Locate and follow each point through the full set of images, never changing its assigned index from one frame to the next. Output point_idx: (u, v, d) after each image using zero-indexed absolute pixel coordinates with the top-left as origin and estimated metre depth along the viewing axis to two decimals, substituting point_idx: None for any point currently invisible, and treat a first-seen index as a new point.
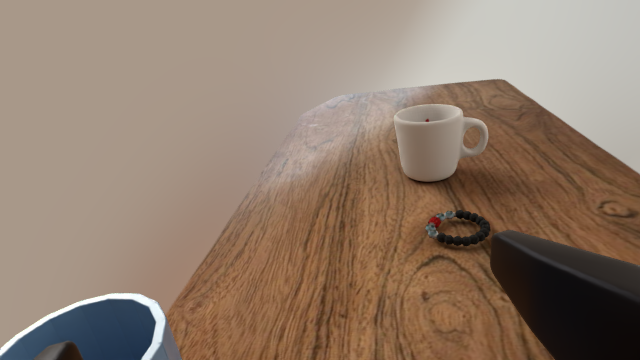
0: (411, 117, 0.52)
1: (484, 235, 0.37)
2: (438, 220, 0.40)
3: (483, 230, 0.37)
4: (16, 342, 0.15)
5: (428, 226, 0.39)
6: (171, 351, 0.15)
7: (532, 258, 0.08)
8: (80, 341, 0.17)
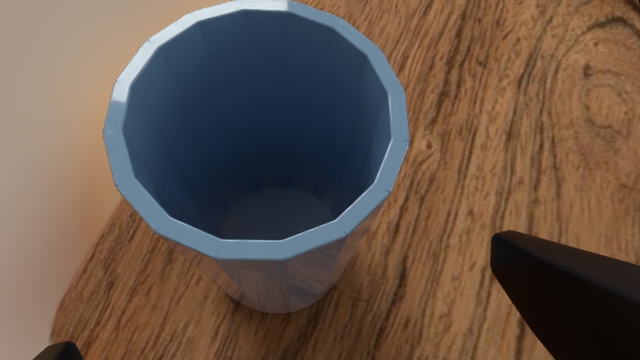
0: None
1: None
2: None
3: None
4: (155, 53, 0.09)
5: None
6: None
7: (532, 258, 0.08)
8: (232, 59, 0.11)
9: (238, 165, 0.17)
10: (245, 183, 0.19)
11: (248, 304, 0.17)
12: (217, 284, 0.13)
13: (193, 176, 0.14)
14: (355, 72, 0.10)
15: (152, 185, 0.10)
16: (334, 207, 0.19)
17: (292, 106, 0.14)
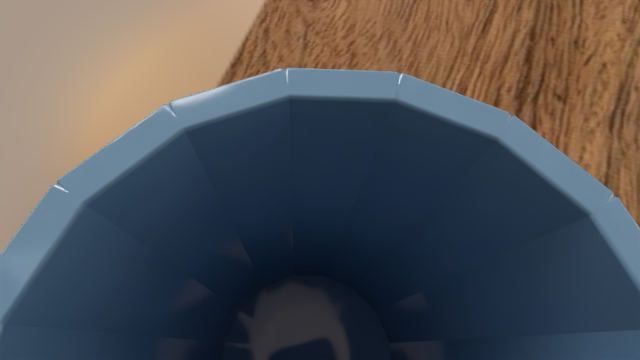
0: None
1: None
2: None
3: None
4: (76, 218, 0.04)
5: None
6: None
7: None
8: (255, 173, 0.06)
9: (253, 273, 0.11)
10: (260, 282, 0.13)
11: None
12: None
13: (183, 330, 0.08)
14: (527, 223, 0.05)
15: None
16: (387, 317, 0.13)
17: (350, 217, 0.08)
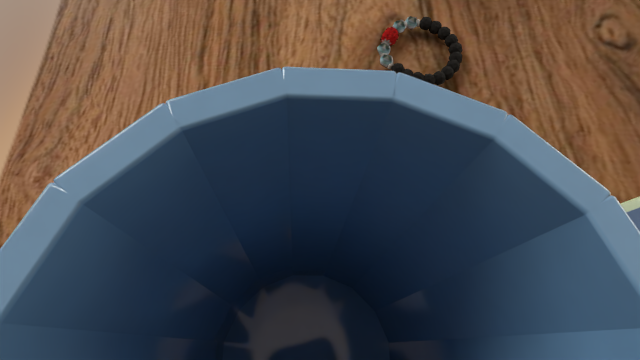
0: None
1: (453, 72, 0.27)
2: (396, 35, 0.28)
3: (453, 64, 0.27)
4: (73, 216, 0.04)
5: (381, 47, 0.27)
6: None
7: None
8: (253, 172, 0.06)
9: (251, 273, 0.11)
10: (259, 282, 0.13)
11: None
12: None
13: (182, 329, 0.08)
14: (524, 222, 0.05)
15: None
16: (386, 317, 0.13)
17: (348, 217, 0.08)
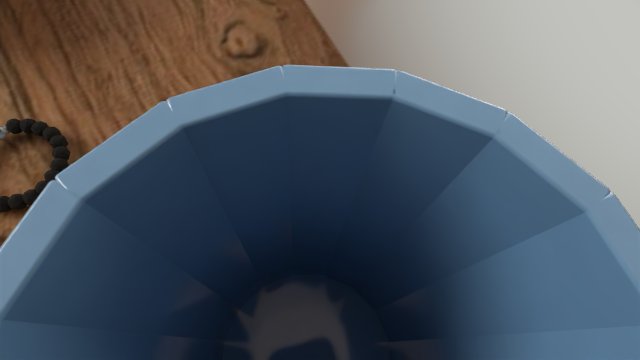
0: None
1: None
2: None
3: (55, 165, 0.23)
4: (74, 214, 0.04)
5: None
6: None
7: None
8: (253, 171, 0.06)
9: (252, 272, 0.11)
10: (259, 281, 0.13)
11: None
12: None
13: (183, 328, 0.08)
14: (524, 220, 0.05)
15: None
16: (386, 316, 0.13)
17: (348, 216, 0.08)
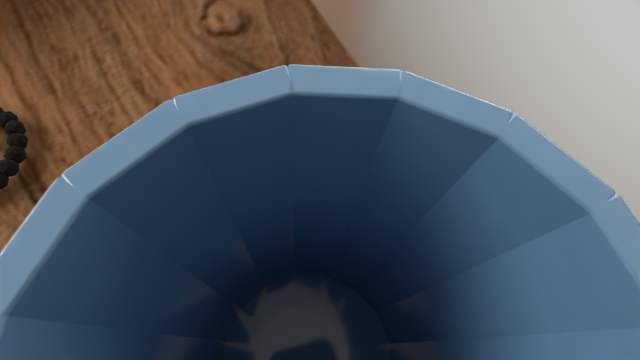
0: None
1: (14, 164, 0.20)
2: None
3: (9, 154, 0.20)
4: (79, 211, 0.04)
5: None
6: None
7: None
8: (257, 170, 0.06)
9: (254, 272, 0.11)
10: (261, 282, 0.13)
11: None
12: None
13: (184, 327, 0.08)
14: (529, 221, 0.05)
15: None
16: (388, 318, 0.13)
17: (351, 216, 0.08)
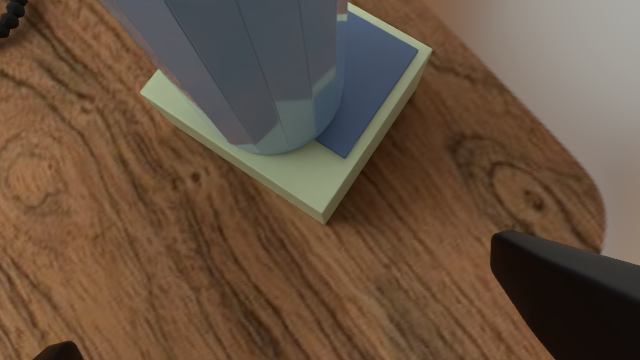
0: None
1: (19, 5, 0.24)
2: None
3: None
4: None
5: None
6: None
7: (532, 258, 0.08)
8: None
9: None
10: None
11: (239, 136, 0.15)
12: (188, 89, 0.12)
13: None
14: None
15: None
16: None
17: None
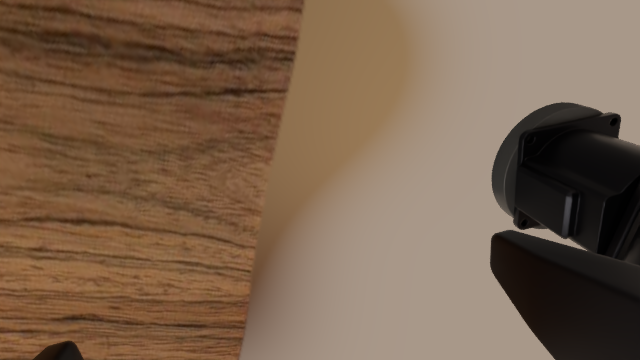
0: None
1: None
2: None
3: None
4: None
5: None
6: None
7: (532, 258, 0.08)
8: None
9: None
10: None
11: None
12: None
13: None
14: None
15: None
16: None
17: None
